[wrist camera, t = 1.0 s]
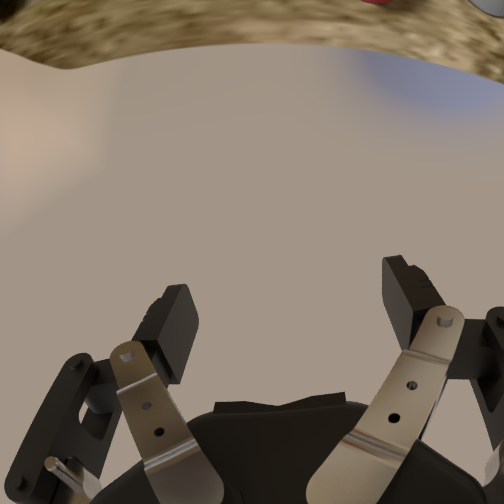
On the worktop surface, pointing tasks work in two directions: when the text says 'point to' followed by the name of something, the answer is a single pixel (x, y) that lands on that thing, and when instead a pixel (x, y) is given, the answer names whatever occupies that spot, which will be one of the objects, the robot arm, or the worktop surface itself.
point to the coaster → (489, 6)
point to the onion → (375, 1)
